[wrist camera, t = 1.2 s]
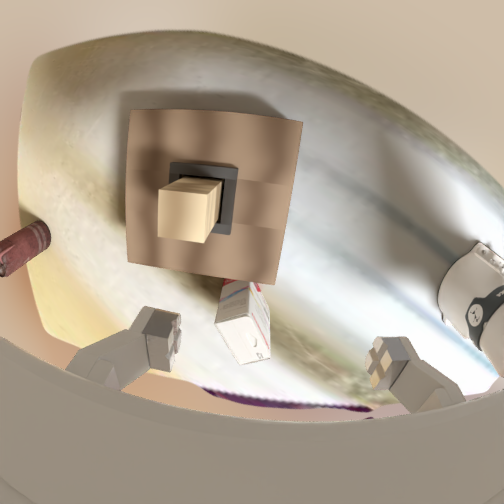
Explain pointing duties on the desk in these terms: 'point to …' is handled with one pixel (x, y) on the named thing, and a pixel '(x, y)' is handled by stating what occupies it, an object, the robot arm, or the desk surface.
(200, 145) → the sleeve block
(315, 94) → the desk surface
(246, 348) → the ink box
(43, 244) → the can
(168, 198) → the peg
